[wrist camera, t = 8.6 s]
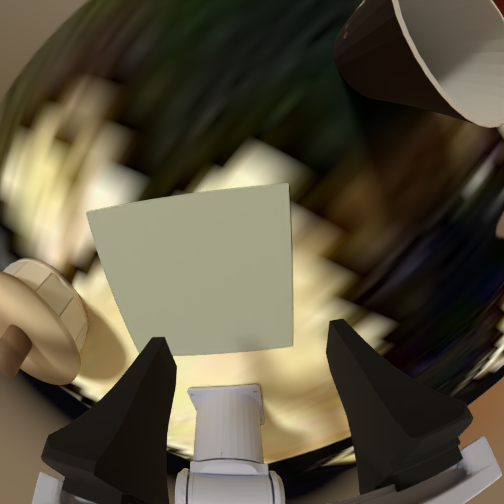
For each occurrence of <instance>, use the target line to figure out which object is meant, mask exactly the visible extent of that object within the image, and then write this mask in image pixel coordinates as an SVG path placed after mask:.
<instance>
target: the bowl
mask: <svg viewBox="0 0 504 504" xmlns="http://www.w3.org/2000/svg"><path fill="white" fill-rule="evenodd" d="M3 272H6V273H8V274H11V275H13V276H15V277H16V278H18V279H20V280H21V281H23V282H24V283H26V284H27V285H28V286H29V287H31V288H32V289H33V290H34V291H35V292H36V293H38V294H39V295H40V296H41V297H42V298H43V299H44V300H45V301H46V302H47V303H48V304H49V305H50V307H51V308H52V309H53V310H54V311H55V312H56V314H57V315H58V316H59V317H60V319H61V320H62V321H63V323H64V324H65V326H66V327H67V329H68V330H69V332H70V334H71V335H72V337H73V339H74V341H75V343H76V346H77V348H78V351H79V352H80V350H81V348H82V346H83V344H84V342H85V337H86V335H87V332H88V327H89V325H88V316H87V313H86V309H85V307H84V304H83V302H82V301H81V299H80V297H79V295H78V294H77V292H76V291H75V289H74V288H73V287H72V285H71V284H70V283H69V282H68V281H67V279H66V278H65V277H64V276H63V275H62V274H60V273H59V272H58V271H57V270H56V269H54V268H53V267H52V266H50V265H49V264H47V263H45V262H43V261H41V260H38V259H35V258H22V259H19V260H17V261H16V262H15V263H11V264H10V265H9V266H8V267H7V268H6V269H5V270H4V271H3Z"/></svg>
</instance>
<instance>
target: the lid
mask: <svg viewBox="0 0 504 504" xmlns="http://www.w3.org/2000/svg"><path fill="white" fill-rule="evenodd" d="M80 362H81V361H80V355H79V351H78V348H77V346H76V343H75V341H74V339H73V337H72V335H71V334H70V332H69V330H68V329H67V327H66V326H65V324H64V323H63V321H62V320H61V319H60V317H59V316H58V315H57V314H56V312H55V311H54V310H53V309H52V308H51V307H50V305H49V304H48V303H47V302H46V301H45V300H44V299H43V298H42V297H41V296H40V295H39V294H38V293H36V292H35V291H34V290H33V289H32V288H31V287H29V286H28V285H27V284H26V283H24V282H23V281H21V280H20V279H18V278H16V277H15V276H13V275H11V274H8V273H6V272H2V271H0V373H1V374H2V375H4V376H5V377H7V378H9V379H14V377H15V375H16V373H17V372H18V370H19V368H21V369H22V370H23V371H25V372H27V373H28V374H30V375H31V376H33V377H35V378H37V379H39V380H42V381H45V382H48V383H51V384H57V385H64V384H68V383H71V382H72V381H73V380H74V379H75V378H76V376H77V374H78V371H79V369H80Z"/></svg>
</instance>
